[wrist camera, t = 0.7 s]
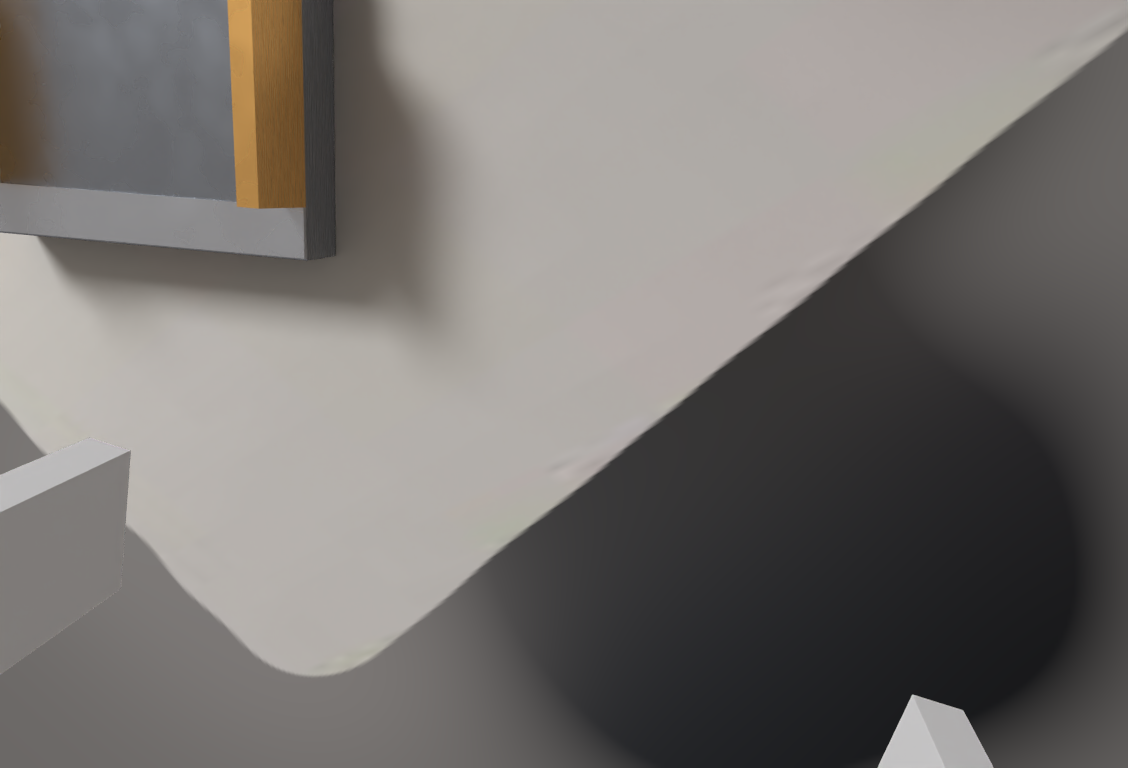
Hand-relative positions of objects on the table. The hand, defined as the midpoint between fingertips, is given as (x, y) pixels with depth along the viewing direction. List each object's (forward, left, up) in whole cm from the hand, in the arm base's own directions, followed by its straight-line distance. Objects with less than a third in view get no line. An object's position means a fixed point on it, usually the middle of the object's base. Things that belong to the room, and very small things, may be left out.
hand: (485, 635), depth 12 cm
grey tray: (-10, -24, -26) cm, 37 cm away
